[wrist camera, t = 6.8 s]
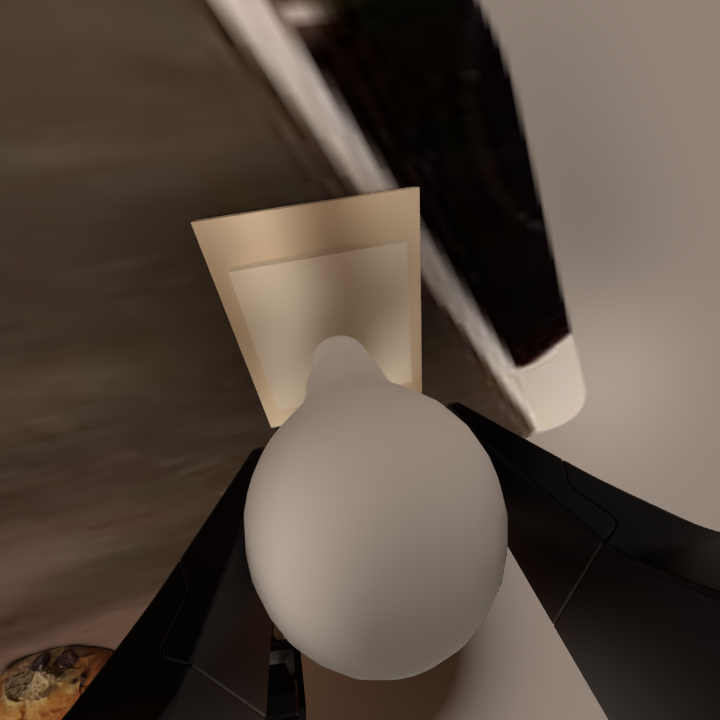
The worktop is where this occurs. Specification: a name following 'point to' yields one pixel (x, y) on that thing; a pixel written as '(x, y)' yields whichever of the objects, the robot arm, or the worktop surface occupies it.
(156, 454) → the worktop surface
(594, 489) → the robot arm
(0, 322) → the worktop surface
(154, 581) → the worktop surface
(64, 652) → the bread roll
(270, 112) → the worktop surface
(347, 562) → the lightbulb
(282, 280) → the base
